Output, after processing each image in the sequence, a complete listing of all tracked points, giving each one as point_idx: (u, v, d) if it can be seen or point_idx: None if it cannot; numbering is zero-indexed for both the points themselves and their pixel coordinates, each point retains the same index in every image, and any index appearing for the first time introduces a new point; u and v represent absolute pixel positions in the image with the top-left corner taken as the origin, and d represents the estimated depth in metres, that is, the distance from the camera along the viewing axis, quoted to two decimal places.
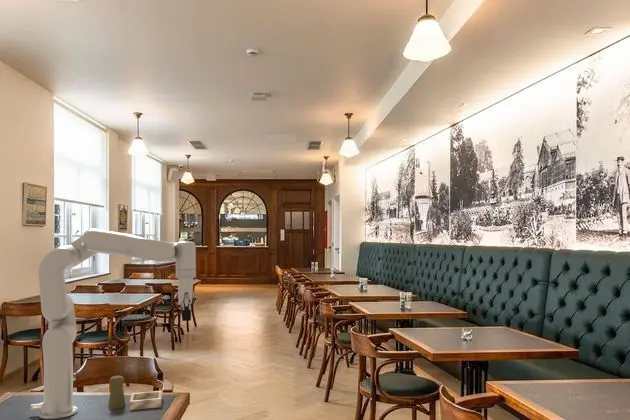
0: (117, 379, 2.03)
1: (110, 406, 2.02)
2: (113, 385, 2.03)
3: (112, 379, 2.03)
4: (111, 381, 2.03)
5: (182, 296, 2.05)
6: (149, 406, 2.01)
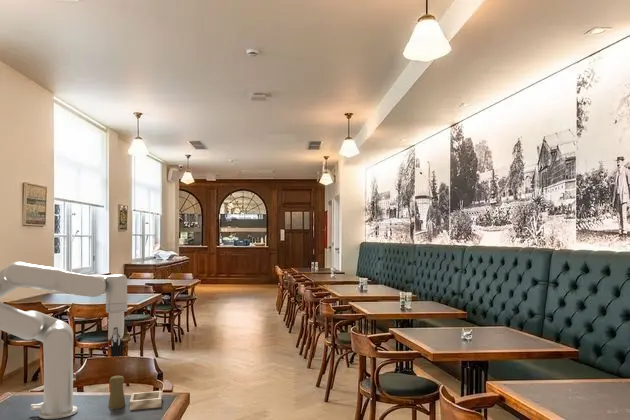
0: (117, 379, 2.03)
1: (110, 406, 2.02)
2: (113, 385, 2.03)
3: (112, 379, 2.03)
4: (111, 381, 2.03)
5: (111, 331, 2.01)
6: (149, 406, 2.01)
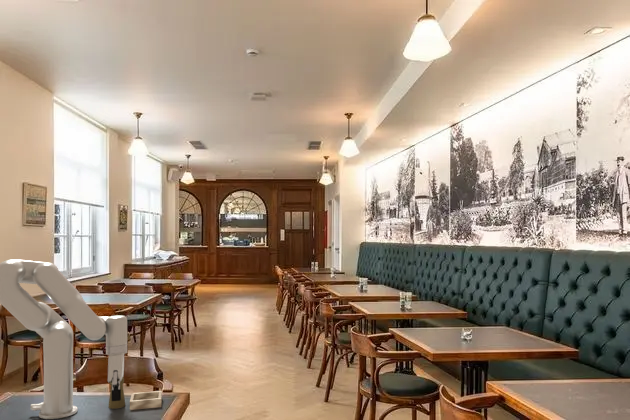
0: (117, 379, 2.03)
1: (110, 406, 2.02)
2: None
3: None
4: (111, 381, 2.03)
5: (111, 374, 2.00)
6: (149, 406, 2.01)
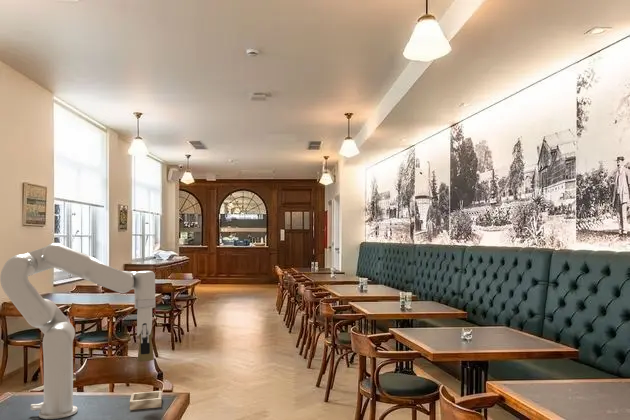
0: None
1: (139, 359, 2.05)
2: None
3: None
4: (140, 334, 2.05)
5: (140, 327, 2.02)
6: (149, 406, 2.01)
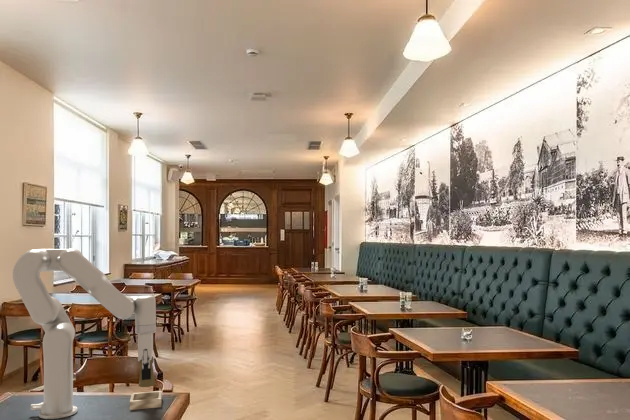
0: (147, 358, 2.05)
1: (140, 385, 2.04)
2: None
3: None
4: (141, 360, 2.05)
5: (141, 353, 2.02)
6: (149, 406, 2.01)
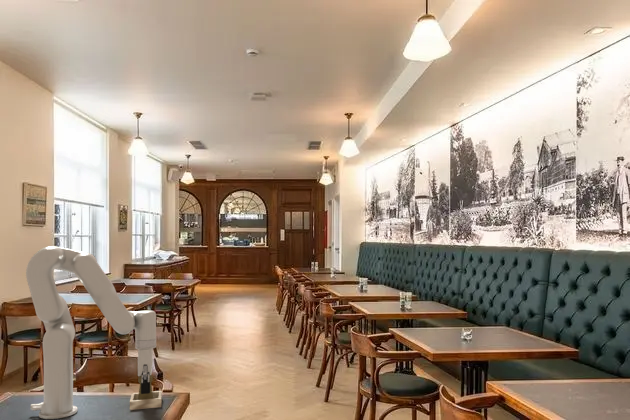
0: None
1: None
2: None
3: (141, 377, 2.05)
4: (140, 379, 2.04)
5: (141, 368, 2.02)
6: (149, 406, 2.01)
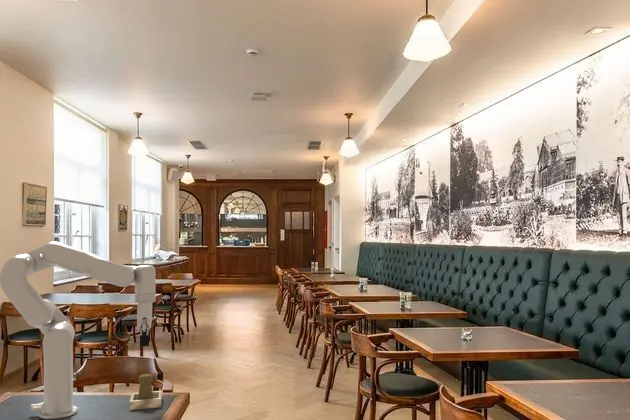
0: (146, 377, 2.05)
1: None
2: (142, 383, 2.04)
3: (141, 377, 2.05)
4: (140, 379, 2.04)
5: (140, 321, 2.03)
6: (149, 406, 2.01)
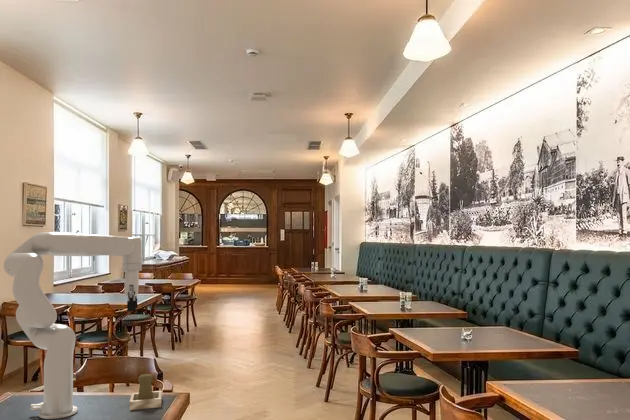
0: (146, 377, 2.05)
1: None
2: (142, 383, 2.04)
3: (141, 377, 2.05)
4: (140, 379, 2.04)
5: (127, 288, 2.19)
6: (149, 406, 2.01)
